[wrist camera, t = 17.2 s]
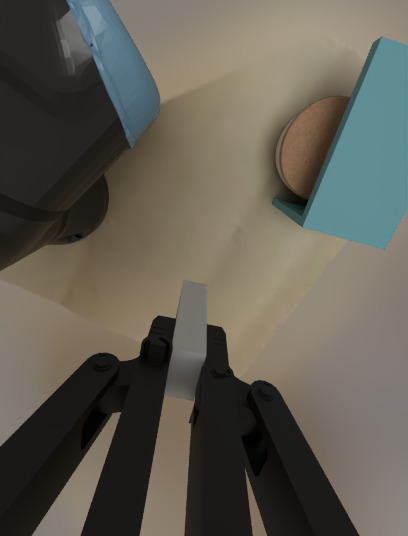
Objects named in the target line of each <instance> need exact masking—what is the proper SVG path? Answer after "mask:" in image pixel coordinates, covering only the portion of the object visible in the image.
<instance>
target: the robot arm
mask: <svg viewBox="0 0 408 536" xmlns="http://www.w3.org/2000/svg"><path fill="white" fill-rule="evenodd" d="M159 109H160V96H159V92H158V88H157V86H156V83H155V81H154V79H153V77H152V75H151V73H150V71H149V69H148V67H147V66H146V63H145V62H144V60H143V58H142V56H141V54H140V52H139V51H138V49H137V47H136V45H135V43H134V42H133V40H132V38H131V36H130V35H129V33H128V31H127V29H126V28H125V26H124V24H123V23H122V21H121V19H120V18H119V16H118V14H117V13H116V11H115V9H114V7H113V6H112V4H111V2H110V1H109V0H0V271H1V270H3V269H5V268H7V267H8V266H10V265H12V264H14V263H15V262H17V261H19V260H21V259H22V258H24V257H26V256H28V255H29V254H31V253H33V252H35V251H36V250H38V249H40V248H42V247H43V246H45V245H63V244H70V243H73V242H77V241H79V240H81V239H83V238H85V237H86V236H88V235H89V234H91V233H92V232H93V231H95V230H96V229H97V228H98V227H99V225H100V224H101V222H102V221H103V219H104V217H105V215H106V212H107V208H108V187H107V183H106V180H105V177H104V173H105V172H106V171H107V170H108V169H109V168H110V167H111V166H112V165H113V164H114V162H115V161H116V160H117V159H118V158H119V157H120V156H121V155H122V154H123V153H124V152H125V151H126V150H127V149H128V148H130V149H132V148H133V147H134V146H135V141H136V140H137V139H138V138H139V137H140V136H141V135H142V133H143V132H144V131H145V130H146V129H147V128H148V127H149V126H150V124H151V123H152V122H153V121H154V120H155V119H156V117H157V115H158V113H159ZM164 396H169V397H175V398H181V399H186V400H192V401H193V400H194V396H195V403H194V407H193V410H192V414H191V417H190V421H189V423H191V438H190V439H191V440H190V454H189V470H188V471H189V472H188V486H187V487H188V488H187V503H186V519H185V535H184V536H253V534H252V526H251V517H250V509H249V500H248V491H247V483H246V474H245V469H246V472H247V475H248V478H249V481H250V484H251V487H252V490H253V493H254V496H255V499H256V502H257V505H258V508H259V511H260V515H261V518H262V521H263V524H264V527H265V530H266V533H267V536H359V534H358V533H357V531H356V529H355V527H354V525H353V523H352V522H351V520H350V518H349V516H348V514H347V513H346V511H345V509H344V507H343V505H342V504H341V502H340V500H339V498H338V496H337V495H336V493H335V491H334V489H333V487H332V486H331V484H330V482H329V480H328V478H327V477H326V475H325V474H324V471H323V470H322V468H321V466H320V464H319V462H318V461H317V459H316V457H315V455H314V453H313V452H312V450H311V448H310V446H309V444H308V443H307V441H306V439H305V437H304V435H303V434H302V432H301V430H300V428H299V427H298V425H297V423H296V421H295V419H294V417H293V416H292V414H291V412H290V410H289V409H288V407H287V405H286V403H285V402H284V400H283V398H282V396H281V394H280V393H279V391H278V390H277V388H276V387H274V386H273V385H272V384H270V383H268V382H266V381H261V380H259V381H254V382H253V383H252V384H251V385H249V384H247V383H245V382H243V381H241V380H239V379H238V378H236V377H235V376H234V374H233V371H232V369H231V368H230V367H229V362H228V352H227V342H226V333H225V332H224V330H223V329H222V327H218V326H213V325H208V324H207V285H205V284H200V283H195V282H190V281H185V280H184V282H183V287H182V291H181V296H180V301H179V305H178V310H177V314H176V319H174V318H169V317H164V316H159V315H158V316H157V317H156V318H155V319H154V320H153V322H152V325H151V328H150V331H149V334H148V337H146V338H144V340H143V341H142V344H141V350H140V356H139V357H137V358H135V359H133V360H129V361H119V360H118V358H117V357H116V356H114V355H113V354H110V353H98V354H95V355H92V356H91V357H90V358H88V359H87V360H86V361H85V362H84V363H83V364H82V365H81V366H80V367H79V368H78V369H77V370H76V371H75V372H74V373H73V374H72V375H71V376H70V377H69V378H68V379H67V380H66V381H65V382H64V383H63V384H62V385H61V386H60V387H59V388H58V389H57V390H56V391H55V392H54V393H53V394H52V395H51V396H50V397H49V398H48V399H47V400H46V401H45V402H44V403H43V404H42V405H41V406H40V407H39V408H38V409H37V410H36V411H35V412H34V413H33V414H32V416H31V417H30V418H28V419H27V420H26V421H25V422H24V423H23V424H22V425H21V426H20V427H19V429H18V430H17V431H15V433H13V435H11V437H10V438H9V439H8V440H7V441H6V442H5V443H4V444H3V445H2V446H1V447H0V536H32V534H33V533H34V531H35V530H36V528H37V527H38V525H39V524H40V522H41V521H42V519H43V517H44V516H45V515H46V513H47V512H48V510H49V509H50V507H51V505H52V504H53V503H54V501H55V499H56V498H57V497H58V495H59V494H60V492H61V491H62V489H63V488H64V486H65V485H66V483H67V482H68V480H69V478H70V477H71V476H72V474H73V473H74V471H75V470H76V468H77V467H78V465H79V464H80V462H81V461H82V459H83V458H84V456H85V455H86V453H87V452H88V450H89V449H90V447H91V446H92V444H93V443H94V441H95V440H96V438H97V437H98V435H99V434H100V432H101V431H102V429H103V428H104V426H105V425H106V423H107V421H108V420H109V418H110V417H111V415H112V413H116V412H121V415H120V418H119V421H118V424H117V427H116V430H115V433H114V436H113V439H112V442H111V445H110V448H109V451H108V454H107V457H106V460H105V464H104V466H103V469H102V472H101V475H100V478H99V481H98V485H97V487H96V491H95V494H94V497H93V500H92V503H91V506H90V509H89V512H88V515H87V518H86V521H85V524H84V527H83V530H82V533H81V536H139V535H140V530H141V523H142V518H143V513H144V507H145V501H146V496H147V490H148V484H149V478H150V473H151V467H152V461H153V455H154V449H155V444H156V438H157V433H158V427H159V421H160V416H161V410H162V404H163V399H164Z"/></svg>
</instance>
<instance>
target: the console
mask: <svg viewBox="0 0 408 536" xmlns="http://www.w3.org/2000/svg"><path fill="white" fill-rule="evenodd" d="M272 204H273V205H274V206H276V207H277V208H278V209H279V210H281V211H282V212H283V213H285V214H286V215H287V216H288V217H290V218H291V219H292V220H294V221H295V222H296V223H297V224H299V225H300V226H301V227H303V228H307V229H310V230H314V231H318V232H321V233H325V234H329V235H332V236H336V237H340V238H343V239H347V240H351V241H355V242H358V243H362V244H366V245H369V246H373V247H376V248H380V249H385V248H386V246H387V244H388V243H389V241H390V239H391V237H392V236H393V234H394V232H395V230H396V228H397V227H398V225H399V223H400V221H401V219H402V218H403V216H404V214H405V212H406V210H407V209H408V45H405V44H402V43H399V42H396V41H393V40H390V39H387V38H385V37H381V38H379V39H378V40H376V41H375V42H374V43H373V44H372V47H371V49H370V52H369V54H368V57H367V59H366V61H365V64H364V66H363V69H362V71H361V74H360V76H359V79H358V81H357V83H356V86H355V88H354V91H353V93H352V96H351V98H350V100H349V103H348V105H347V108H346V110H345V113H344V115H343V118H342V120H341V122H340V125H339V127H338V130H337V132H336V135H335V137H334V139H333V142H332V144H331V147H330V149H329V152H328V154H327V157H326V159H325V161H324V164H323V166H322V169H321V171H320V174H319V176H318V178H317V181H316V183H315V186H314V188H313V191H312V193H311V196H310V198H309V200H308V203H307V205H306V207H303V206H299V205H296V204H292V203H289V202H285V201H282V200H278V199H274V200H273V202H272Z"/></svg>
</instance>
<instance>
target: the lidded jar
mask: <svg viewBox="0 0 408 536" xmlns="http://www.w3.org/2000/svg"><path fill="white" fill-rule="evenodd" d="M349 100H350V97H344V96H334V97H328V98H325V99H321V100H319V101H317V102H315V103H313V104H311V105H309V106H308V107H306V108H305V109H304V110H303V111H301V112H300V113H298V114H297V115H296V116H295V117H294V118H293V119H292V120H291V121H290V122H289V123H288V124H287V126H286V127H285V129H284V130H283V132H282V134H281V136H280V138H279V140H278V144H277V148H276V167H277V170H278V173H279V175H280V177H281V179H282V181H283V182H284V183H285V185H286V186H287V187H288V188H289V189H291V190H292V191H293V192H294V193H296V194H297V195H299V196H300V197H302V198H305V199H307V200H309V198H310V196H311V193H312V191H313V188H314V186H315V183H316V181H317V178H318V176H319V174H320V171H321V169H322V166H323V164H324V161H325V159H326V157H327V154H328V152H329V149H330V147H331V144H332V142H333V139H334V137H335V135H336V132H337V130H338V127H339V125H340V122H341V120H342V118H343V115H344V113H345V110H346V108H347V105H348V103H349Z"/></svg>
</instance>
